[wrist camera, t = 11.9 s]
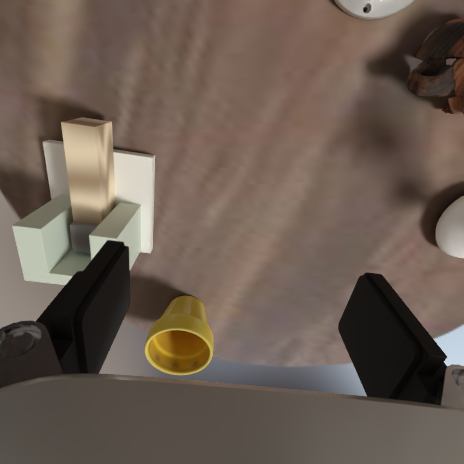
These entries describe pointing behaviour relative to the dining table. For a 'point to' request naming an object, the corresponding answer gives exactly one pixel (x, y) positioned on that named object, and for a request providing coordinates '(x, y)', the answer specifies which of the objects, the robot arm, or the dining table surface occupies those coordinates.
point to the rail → (89, 176)
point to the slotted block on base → (111, 228)
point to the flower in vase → (452, 229)
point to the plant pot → (180, 338)
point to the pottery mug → (441, 66)
